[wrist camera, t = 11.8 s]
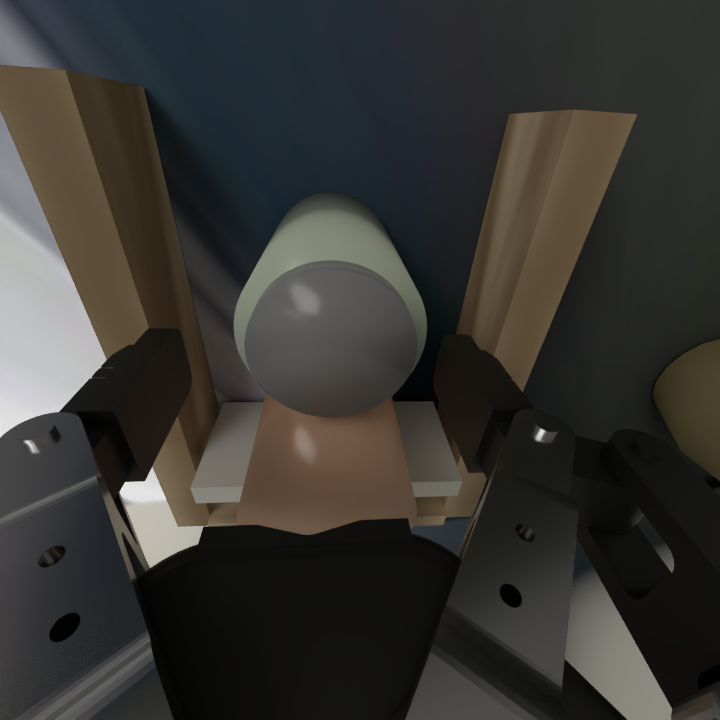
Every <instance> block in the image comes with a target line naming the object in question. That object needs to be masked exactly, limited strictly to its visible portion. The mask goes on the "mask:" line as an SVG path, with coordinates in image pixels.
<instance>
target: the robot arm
mask: <svg viewBox="0 0 720 720" xmlns="http://www.w3.org/2000/svg"><path fill="white" fill-rule="evenodd" d="M191 384H192V374H191V369H190V365H189V361H188V357H187V353H186V349H185V345H184V341H183V337H182V334H181V332H180V331H179V330H178V329H171V328H149V329H147V330H146V331H145V332H144V333H143V334H142V336H141V337H140V338H139V339H138V340H137V341H136V343H135V344H134V345H128V346H126V347H124V348H122V349H121V350H119V351H117V352H116V353H114V354H112V355H111V356H110V357H109V358H108V359H107V361H106V362H105V363H104V364H103V365H102V366H101V369H98V370H97V371H96V372H95V374H94V375H93V376H92V379H89V380H88V381H87V382H86V383H85V384H84V386H83V387H82V388H81V389H80V390H79V391H78V392H77V393H76V394H75V395H74V396H73V397H72V399H71V400H70V401H69V402H68V403H67V404H66V405H65V406H64V407H63V408H62V409H61V410H60V412H56V413H49V414H44V415H41V416H37V417H34V418H32V419H29V420H27V421H24V422H22V423H20V424H19V425H17V426H15V427H13V428H12V429H10V430H9V431H8V432H6V433H5V434H4V435H3V436H2V437H1V438H0V720H627V719H626V718H625V717H624V716H623V715H622V714H621V713H620V712H619V711H618V710H617V709H616V708H614V707H613V705H612V704H611V703H610V702H608V701H607V700H606V699H605V698H604V697H603V696H602V695H601V694H600V693H599V692H598V691H597V690H596V689H595V688H594V687H593V686H592V685H591V684H590V683H589V682H588V681H587V680H586V679H585V678H584V677H583V676H582V675H581V674H580V673H579V672H578V671H577V670H576V669H575V668H573V667H572V666H571V665H570V664H569V663H568V662H567V661H566V660H565V649H566V638H567V628H568V618H569V608H570V607H569V606H570V597H571V586H572V576H573V565H574V555H575V545H576V536H577V538H578V540H579V542H580V543H581V545H582V547H583V549H584V551H585V552H586V554H587V556H588V558H589V560H590V562H591V563H592V565H593V567H594V569H595V570H596V572H597V574H598V576H599V578H600V580H601V581H602V583H603V585H604V587H605V589H606V590H607V592H608V594H609V596H610V597H611V599H612V601H613V603H614V605H615V607H616V608H617V610H618V612H619V614H620V615H621V617H622V619H623V621H624V623H625V624H626V626H627V628H628V630H629V631H630V633H631V635H632V637H633V639H634V640H635V643H636V644H637V646H638V648H639V650H640V651H641V653H642V655H643V657H644V659H645V661H646V662H647V664H648V665H649V668H650V669H651V671H652V673H653V675H654V677H655V678H656V680H657V682H658V684H659V686H660V688H661V689H662V691H663V693H664V695H665V696H666V698H667V700H668V702H669V704H670V706H671V707H672V714H671V720H720V496H719V495H718V494H717V493H716V492H715V491H714V490H713V489H712V488H711V487H710V486H709V485H708V484H707V483H706V482H705V481H704V480H703V479H702V478H701V477H700V476H699V475H698V474H697V473H696V472H695V471H694V470H693V469H692V468H691V467H690V466H689V465H688V464H687V463H686V462H685V461H684V460H683V459H682V458H681V457H680V456H679V455H678V454H677V453H676V452H675V451H674V450H673V449H672V448H670V447H669V446H668V445H666V444H665V443H663V442H662V441H660V440H658V439H656V438H655V437H652V436H650V435H648V434H645V433H643V432H639V431H635V430H629V429H622V430H618V431H616V432H614V433H613V435H612V436H611V438H610V439H609V441H608V442H607V443H604V442H600V441H595V440H591V439H586V438H582V437H578V436H575V434H574V432H573V430H572V429H571V428H570V427H569V425H568V424H566V423H565V422H564V421H563V420H561V419H560V418H558V417H556V416H555V415H553V414H550V413H548V412H545V411H542V410H537V409H535V408H534V407H533V406H532V404H531V403H530V402H529V400H528V399H527V398H526V396H525V395H524V394H523V392H522V391H521V390H520V388H519V387H518V386H517V384H516V383H515V382H514V381H512V378H511V376H510V375H509V373H508V372H506V369H505V368H504V367H503V365H502V364H501V363H500V361H499V360H498V359H497V358H496V357H494V356H493V355H491V354H490V353H488V352H487V351H486V350H480V348H479V347H478V346H477V344H476V343H475V341H474V340H473V338H472V337H471V336H470V335H468V334H445V335H444V336H443V338H442V341H441V345H440V350H439V354H438V358H437V362H436V367H435V371H434V376H433V385H434V391H435V394H436V396H437V399H438V401H439V403H440V406H441V408H442V411H443V413H444V416H445V418H446V420H447V423H448V425H449V428H450V430H451V432H452V435H453V437H454V440H455V442H456V444H457V447H458V449H459V452H460V454H461V456H462V459H463V461H464V464H465V466H466V468H467V471H468V473H484V474H485V476H486V479H487V480H486V482H485V484H484V487H483V489H482V492H481V495H480V497H479V500H478V502H477V505H476V508H475V510H474V513H473V515H472V518H471V521H470V523H469V526H468V528H467V531H466V534H465V537H464V539H463V541H462V544H461V547H460V548H459V551H458V553H457V555H455V554H454V553H453V552H451V551H450V550H448V549H447V548H445V547H443V546H442V545H440V544H438V543H436V542H434V541H432V540H430V539H427V538H424V537H421V536H418V535H414V534H411V529H410V525H409V520H408V518H396V519H373V520H359V521H355V522H352V523H349V524H346V525H342V526H339V527H336V528H333V529H329V530H326V531H323V532H319V533H316V534H312V535H303V534H298V533H293V532H289V531H284V530H279V529H275V528H270V527H265V526H261V525H233V526H210V527H203V530H202V533H201V537H200V540H199V543H198V545H195V546H192V547H189V548H187V549H184V550H182V551H179V552H177V553H175V554H173V555H171V556H169V557H168V558H166V559H164V560H162V561H161V562H159V563H158V564H156V565H154V566H153V567H151V568H149V565H148V563H147V561H146V559H145V556H144V554H143V551H142V549H141V546H140V544H139V541H138V538H137V536H136V533H135V531H134V528H133V525H132V523H131V520H130V518H129V515H128V512H127V510H126V507H125V504H124V502H123V499H122V497H121V495H120V493H119V492H120V490H121V488H122V486H123V484H124V483H125V482H133V481H145V480H146V478H147V476H148V474H149V472H150V470H151V468H152V466H153V464H154V462H155V460H156V458H157V456H158V454H159V452H160V450H161V448H162V446H163V444H164V442H165V440H166V438H167V436H168V434H169V432H170V430H171V428H172V426H173V424H174V422H175V420H176V418H177V416H178V414H179V412H180V410H181V408H182V406H183V404H184V402H185V400H186V398H187V396H188V394H189V392H190V389H191ZM644 515H645V517H646V518H647V519H648V520H649V522H650V523H651V524H652V526H653V527H654V528H655V529H656V531H657V532H658V534H659V535H660V536H661V538H662V539H663V540H664V541H665V543H666V544H667V546H668V547H669V549H670V550H671V553H672V555H673V558H674V570H673V572H672V573H671V571H670V570H669V569H668V567H667V566H666V565H665V563H664V562H663V561H662V559H661V558H660V556H659V555H658V554H657V552H656V551H655V549H654V548H653V547H652V545H651V544H650V542H649V541H648V540H647V538H646V537H645V536H644V534H643V533H642V532H641V530H640V529H639V527H638V526H637V523H638V522H639V521H640V520H641V518H642V517H643V516H644Z"/></svg>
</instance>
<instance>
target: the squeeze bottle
mask: <svg viewBox="0 0 720 720" xmlns="http://www.w3.org/2000/svg"><path fill="white" fill-rule="evenodd" d="M652 395H653V398H654V401H655V404H656V406H657V407H658V409H659V411H660V413H661V415H662V417H663V419H664V420H665V422H666V424H667V426H668V428H669V430H670V432H671V433H672V435H673V437H674V439H675V441H676V443H677V445H678V446H679V448H680V450H681V452H683V453H684V454H685V455H686V456H688V457H689V458H690V459H692V460H693V461H694V462H696V463H697V464H698V465H699V466H701V467H702V468H703V469H705V470H706V471H707V472H708V473H710V474H711V475H712V476H714V477H715V478H716V479H718V480H719V481H720V339H719V340H715V341H711V342H707V343H703V344H701V345H699V346H697V347H695V348H693V349H691V350H689V351H687V352H686V353H684V354H682V355H681V356H680V357H679V358H677V359H676V360H675V361H674V362H672V363H671V364H670V365H669V366H667V368H666V369H665V370H664V371H663V373H662V374H661V375H660V377H659V378H658V379H657V381H656V383H655V387H654V390H653V393H652Z"/></svg>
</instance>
